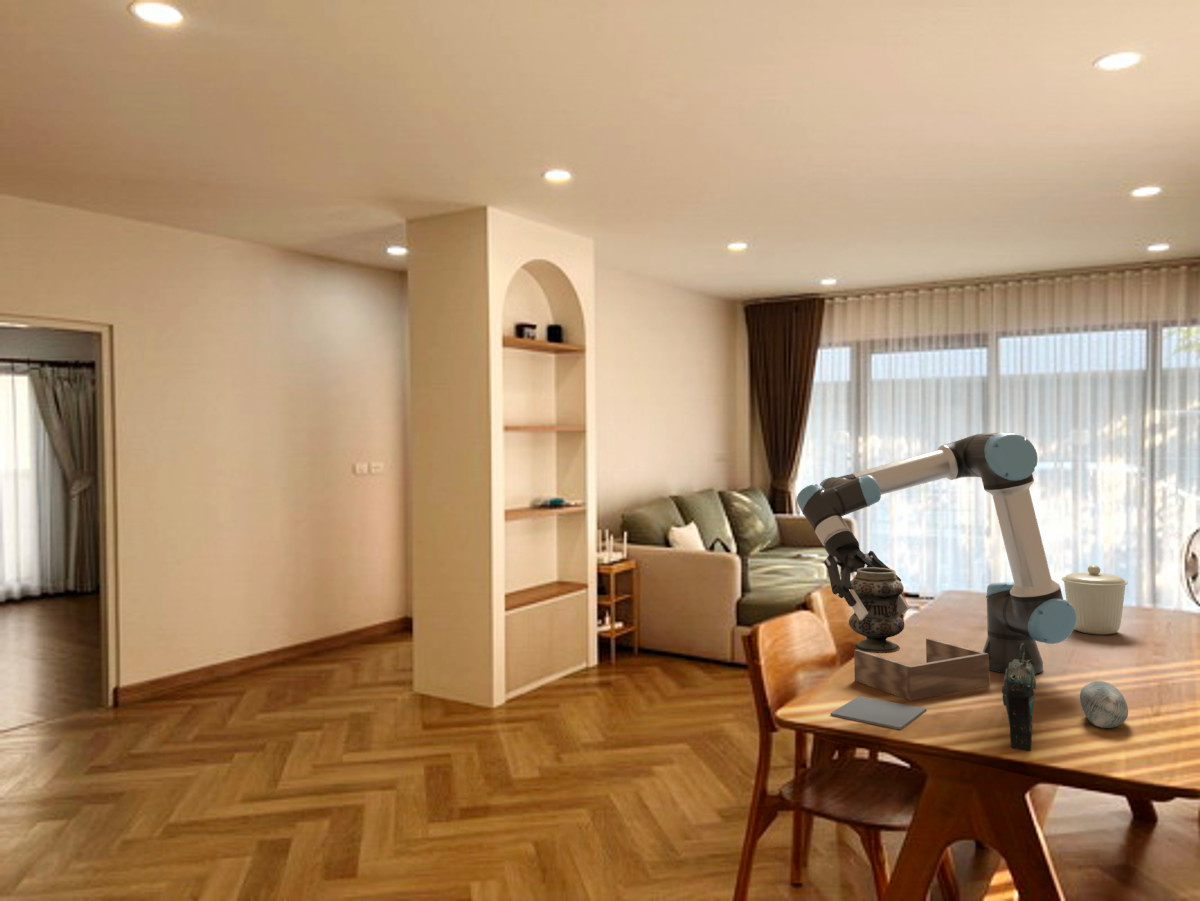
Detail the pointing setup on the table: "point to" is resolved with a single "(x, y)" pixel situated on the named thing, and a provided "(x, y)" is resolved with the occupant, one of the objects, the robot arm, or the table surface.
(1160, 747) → the table surface
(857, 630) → the apothecary jar
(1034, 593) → the robot arm
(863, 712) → the rubber mat
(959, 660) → the walnut u-shaped frame
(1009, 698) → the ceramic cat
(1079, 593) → the canister
